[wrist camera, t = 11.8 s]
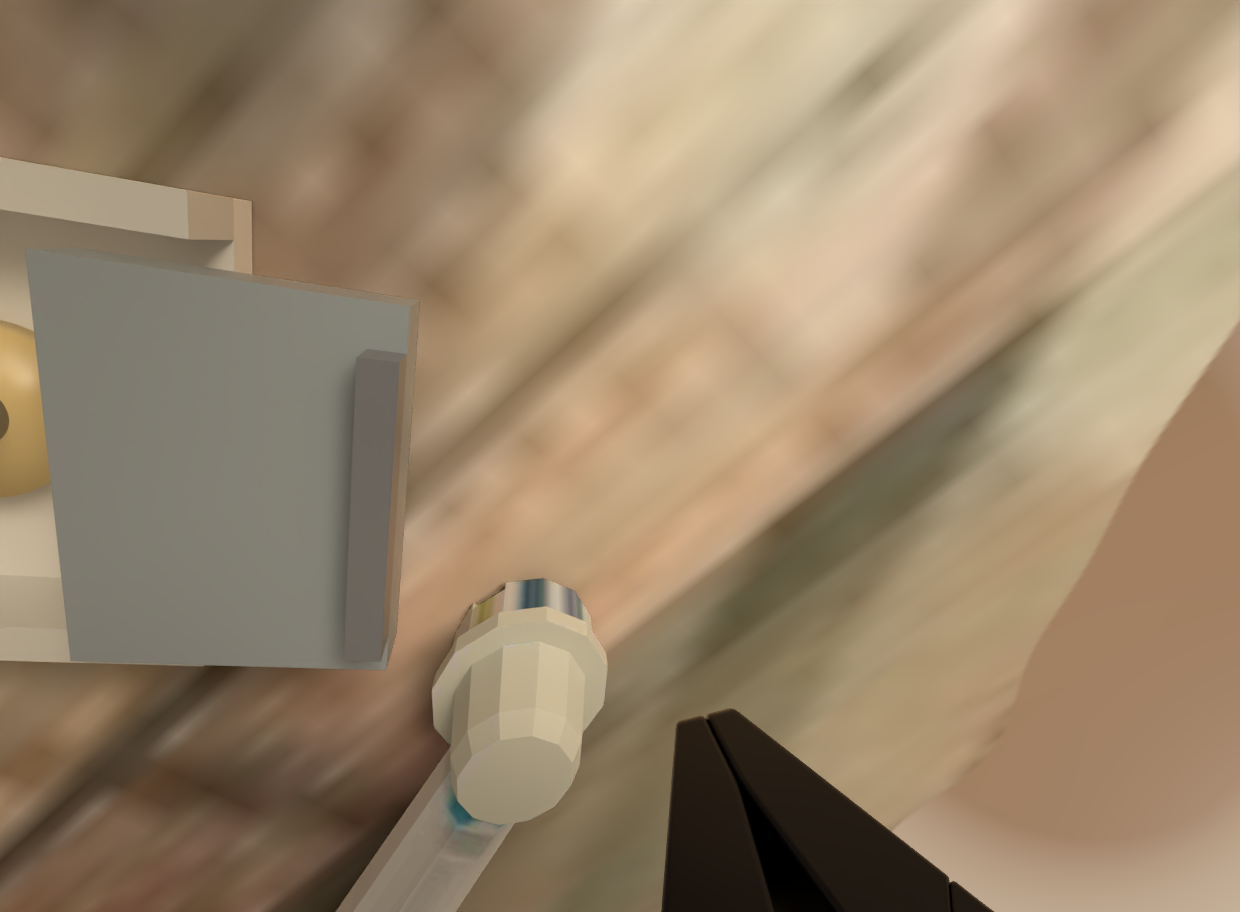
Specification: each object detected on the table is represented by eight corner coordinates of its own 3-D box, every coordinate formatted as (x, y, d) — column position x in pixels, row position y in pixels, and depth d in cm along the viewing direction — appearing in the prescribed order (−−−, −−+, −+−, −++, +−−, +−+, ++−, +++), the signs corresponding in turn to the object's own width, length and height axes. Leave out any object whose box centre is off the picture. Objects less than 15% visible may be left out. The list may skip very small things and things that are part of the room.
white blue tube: (176, 1161, 23) (472, 707, 14) (254, 951, 29) (495, 546, 20) (319, 1173, 24) (660, 768, 16) (365, 971, 30) (630, 602, 22)
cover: (420, 299, 14) (403, 311, 12) (396, 632, 17) (378, 697, 15) (80, 247, 13) (-18, 249, 10) (111, 621, 16) (39, 691, 13)
